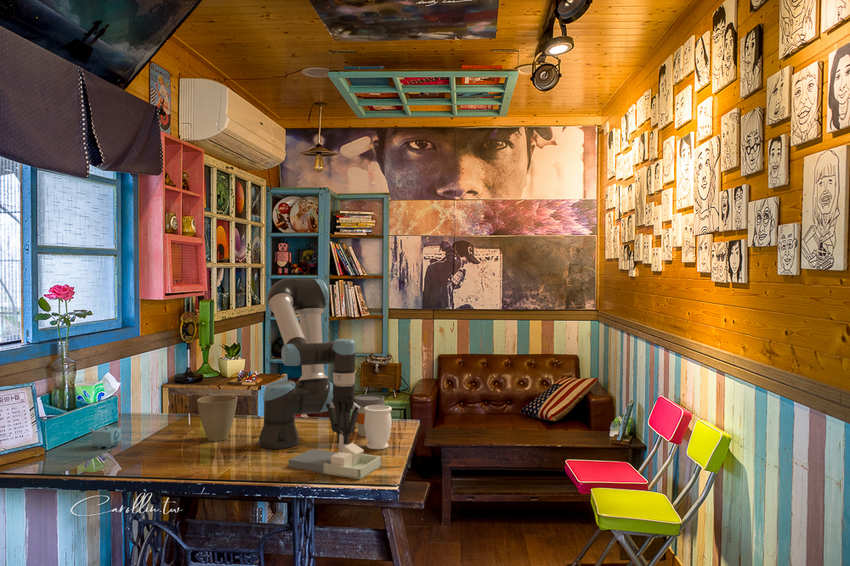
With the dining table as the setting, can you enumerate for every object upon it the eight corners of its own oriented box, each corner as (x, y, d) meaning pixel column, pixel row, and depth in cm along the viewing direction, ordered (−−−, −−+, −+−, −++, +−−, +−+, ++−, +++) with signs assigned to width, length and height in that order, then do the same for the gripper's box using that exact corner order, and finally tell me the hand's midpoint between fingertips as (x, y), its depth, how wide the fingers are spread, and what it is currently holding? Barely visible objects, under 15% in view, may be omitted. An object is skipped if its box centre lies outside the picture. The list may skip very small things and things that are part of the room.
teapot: (83, 448, 209) (83, 428, 209) (93, 443, 215) (94, 424, 215) (114, 449, 208) (115, 429, 208) (124, 444, 214) (124, 425, 214)
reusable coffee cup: (358, 438, 226) (359, 401, 226) (349, 431, 238) (350, 395, 238) (388, 435, 231) (388, 399, 231) (378, 428, 243) (378, 393, 243)
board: (288, 467, 191) (288, 459, 191) (312, 455, 204) (312, 448, 204) (323, 473, 186) (323, 465, 186) (345, 460, 199) (345, 453, 199)
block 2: (339, 459, 192) (344, 446, 191) (347, 455, 197) (352, 442, 196) (351, 467, 190) (356, 454, 190) (358, 462, 195) (364, 450, 194)
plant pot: (217, 431, 234) (217, 393, 234) (245, 436, 227) (245, 396, 227) (188, 441, 220) (188, 400, 220) (216, 446, 214) (217, 404, 214)
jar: (387, 451, 210) (387, 411, 210) (360, 449, 212) (360, 409, 212) (394, 443, 220) (394, 405, 220) (368, 441, 222) (369, 403, 222)
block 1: (330, 471, 186) (330, 456, 186) (338, 466, 190) (339, 451, 190) (343, 473, 184) (344, 458, 184) (351, 468, 188) (351, 453, 188)
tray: (323, 473, 185) (323, 463, 185) (346, 460, 199) (347, 451, 199) (359, 479, 180) (360, 469, 180) (381, 466, 194) (381, 456, 194)
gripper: (321, 384, 193) (320, 453, 193) (354, 387, 188) (353, 458, 188) (333, 381, 200) (332, 447, 200) (365, 384, 195) (364, 452, 195)
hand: (342, 453), depth 194 cm, fingers closed
